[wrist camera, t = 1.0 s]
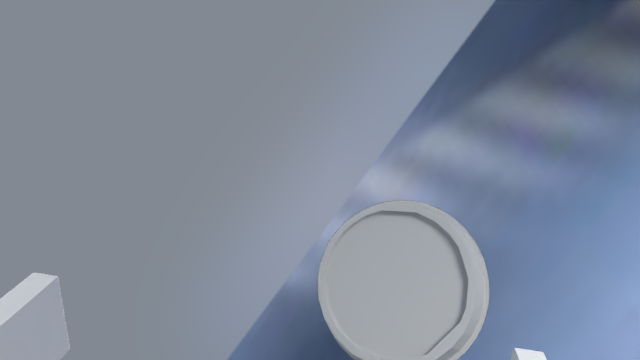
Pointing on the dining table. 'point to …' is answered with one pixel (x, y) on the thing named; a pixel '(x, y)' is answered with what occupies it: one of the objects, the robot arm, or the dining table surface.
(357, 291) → the disposable coffee cup
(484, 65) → the dining table surface
